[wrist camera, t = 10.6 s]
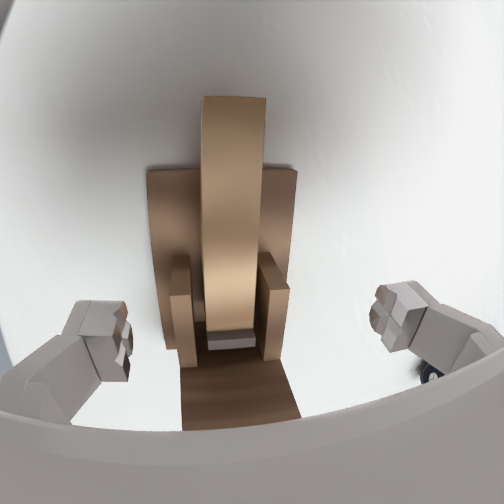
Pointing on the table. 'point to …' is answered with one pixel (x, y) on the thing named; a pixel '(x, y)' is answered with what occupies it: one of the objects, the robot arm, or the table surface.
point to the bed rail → (230, 215)
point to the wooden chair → (192, 304)
